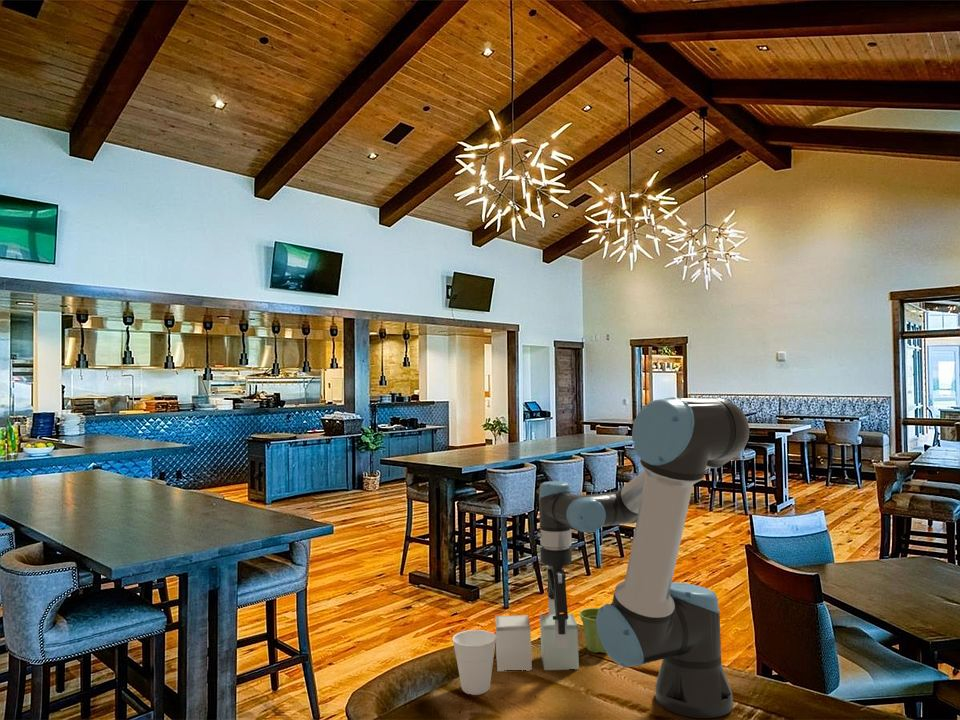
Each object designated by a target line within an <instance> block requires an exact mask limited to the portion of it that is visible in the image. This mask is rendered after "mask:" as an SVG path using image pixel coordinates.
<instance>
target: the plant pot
mask: <svg viewBox="0 0 960 720" xmlns="http://www.w3.org/2000/svg"><path fill="white" fill-rule="evenodd" d="M600 608H601V607H600ZM600 608H599V607H593V608H592V607H590V608H584V609H581V610H580V611H579V613H578V615H579V617H580V618H581V622H582V626H583V633H584V638H585V639H584V640H585V645H586V649H587V651H590V652H591V653H595V654H596V653H602V654H605V653H606V651H605V649H604V647H603V645H602V643H601V640H600V638H599V635H598V631H597V624H596V619H597V613H598V610H599V609H600ZM606 654H607V653H606Z"/></svg>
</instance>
